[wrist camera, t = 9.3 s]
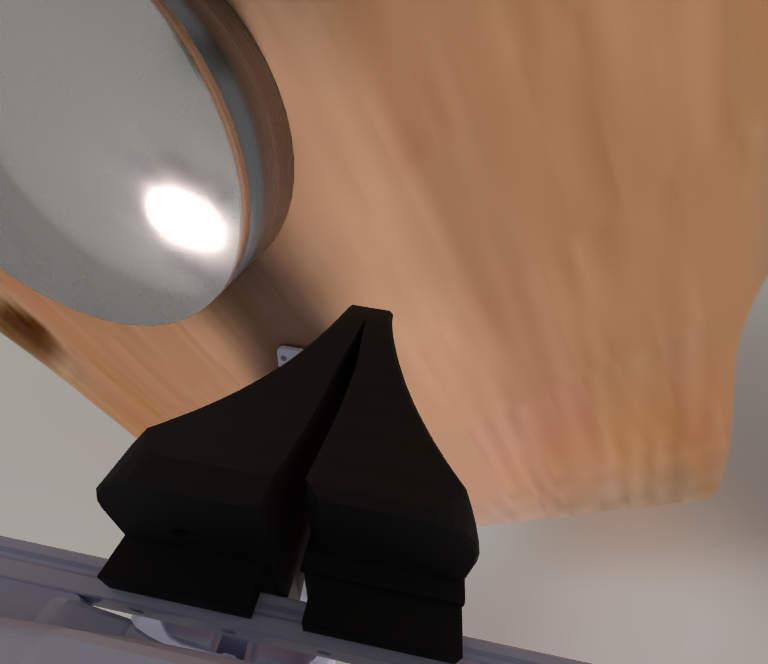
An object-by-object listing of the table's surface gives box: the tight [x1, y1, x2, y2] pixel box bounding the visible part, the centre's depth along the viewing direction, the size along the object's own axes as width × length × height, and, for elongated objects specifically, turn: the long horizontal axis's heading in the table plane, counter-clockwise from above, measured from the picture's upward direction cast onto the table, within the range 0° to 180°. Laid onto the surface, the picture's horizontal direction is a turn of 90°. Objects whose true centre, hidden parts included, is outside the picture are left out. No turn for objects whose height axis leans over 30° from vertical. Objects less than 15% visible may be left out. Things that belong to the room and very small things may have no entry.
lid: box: [0, 0, 251, 326], centre depth 14 cm, size 16×21×1 cm
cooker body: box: [164, 0, 294, 291], centre depth 16 cm, size 19×16×5 cm
